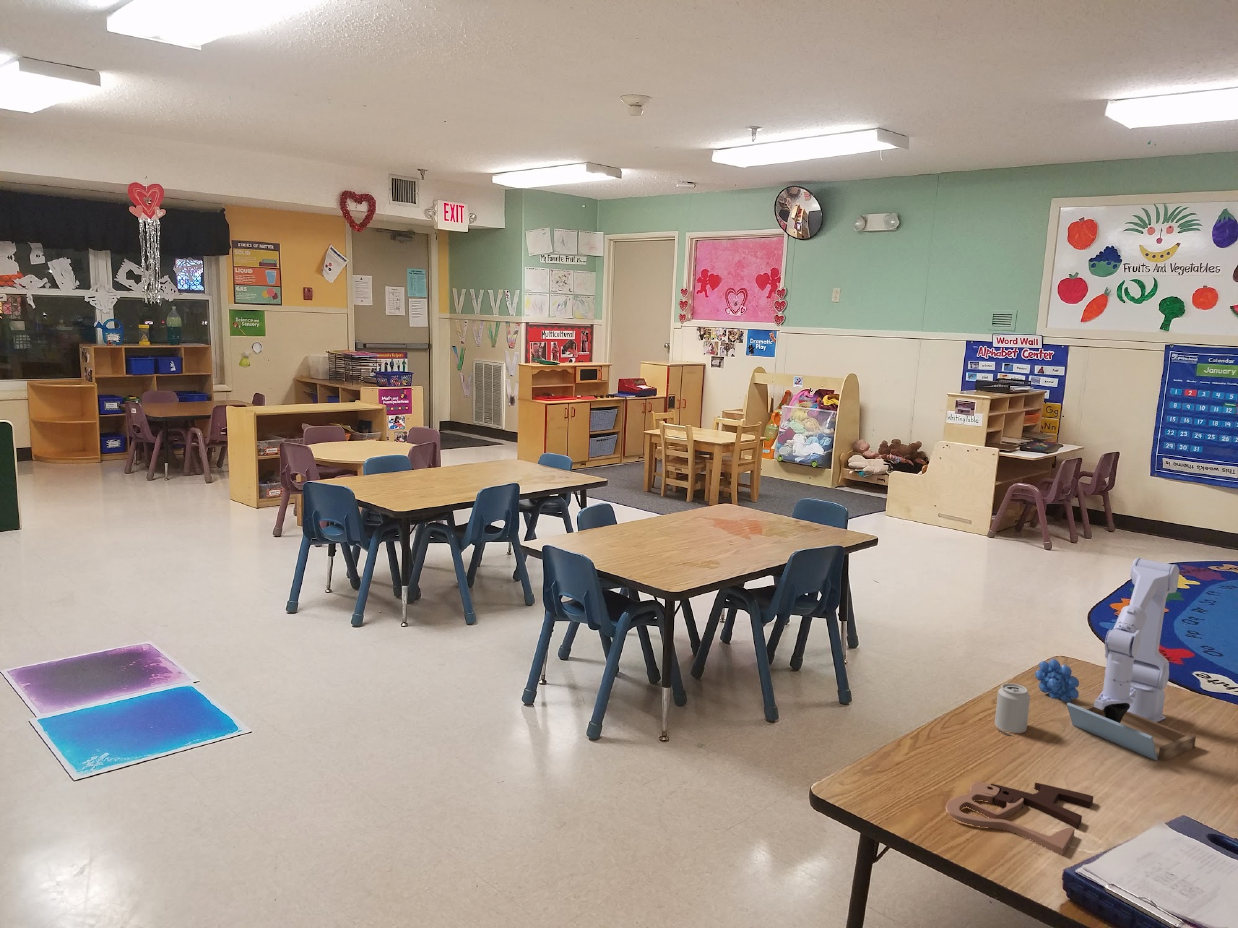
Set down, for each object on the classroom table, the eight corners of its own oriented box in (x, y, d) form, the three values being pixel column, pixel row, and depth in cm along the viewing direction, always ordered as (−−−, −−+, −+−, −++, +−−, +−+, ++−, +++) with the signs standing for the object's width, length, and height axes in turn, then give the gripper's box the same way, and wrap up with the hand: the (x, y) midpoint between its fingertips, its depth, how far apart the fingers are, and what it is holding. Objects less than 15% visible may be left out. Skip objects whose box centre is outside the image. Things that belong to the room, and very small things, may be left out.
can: (1020, 725, 234) (1024, 682, 232) (1030, 739, 227) (1035, 694, 225) (990, 723, 235) (994, 680, 233) (999, 737, 227) (1003, 692, 225)
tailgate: (1074, 723, 232) (1068, 702, 229) (1157, 759, 214) (1152, 736, 211) (1073, 726, 232) (1066, 704, 229) (1156, 761, 214) (1150, 738, 211)
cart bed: (1102, 715, 241) (1104, 699, 240) (1193, 752, 221) (1196, 735, 220) (1070, 727, 233) (1072, 711, 233) (1162, 766, 214) (1164, 749, 213)
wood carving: (1092, 804, 198) (982, 768, 213) (1094, 795, 198) (983, 760, 212) (1059, 863, 177) (939, 818, 191) (1060, 853, 176) (940, 809, 191)
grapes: (1027, 699, 250) (1031, 658, 248) (1035, 692, 255) (1040, 652, 252) (1072, 713, 242) (1076, 671, 240) (1080, 705, 247) (1084, 664, 245)
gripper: (1117, 689, 212) (1110, 743, 215) (1151, 677, 220) (1144, 729, 222) (1088, 679, 218) (1082, 731, 220) (1122, 667, 226) (1116, 717, 228)
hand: (1111, 729), depth 222 cm, fingers closed, pressing on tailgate
